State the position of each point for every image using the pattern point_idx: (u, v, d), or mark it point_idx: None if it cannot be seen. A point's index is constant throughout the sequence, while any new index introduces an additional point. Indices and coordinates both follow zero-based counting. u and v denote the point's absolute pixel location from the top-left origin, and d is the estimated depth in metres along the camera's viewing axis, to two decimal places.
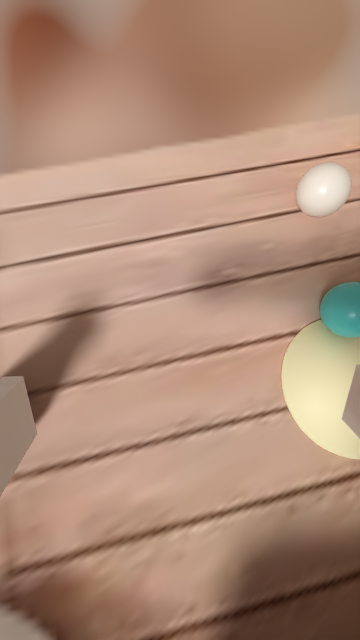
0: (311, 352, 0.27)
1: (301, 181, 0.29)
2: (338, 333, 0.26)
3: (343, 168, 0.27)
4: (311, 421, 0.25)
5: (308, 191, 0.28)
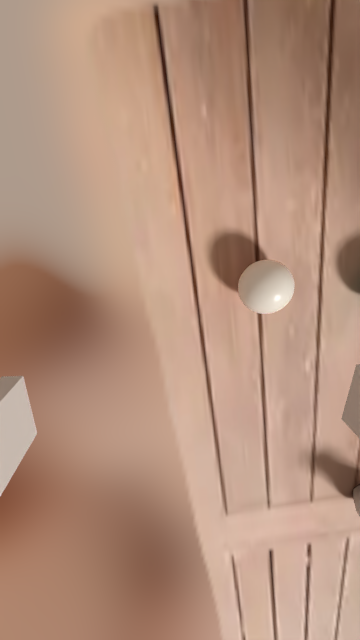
0: None
1: None
2: None
3: (270, 283, 0.24)
4: None
5: None
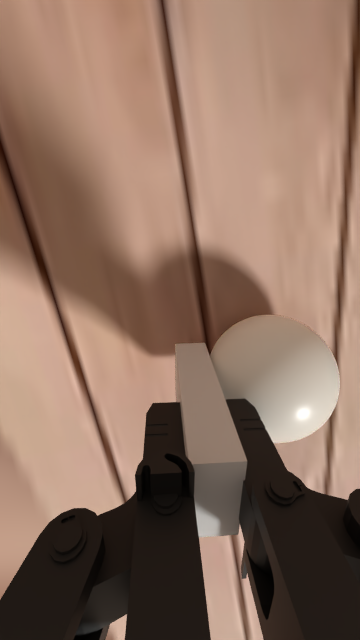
0: None
1: None
2: None
3: (317, 392, 0.09)
4: None
5: None
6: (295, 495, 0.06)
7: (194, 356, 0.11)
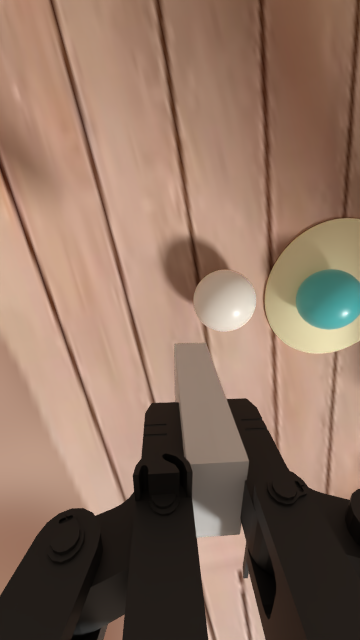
0: (296, 323, 0.27)
1: None
2: None
3: None
4: (353, 333, 0.28)
5: None
6: (298, 495, 0.06)
7: (195, 356, 0.11)
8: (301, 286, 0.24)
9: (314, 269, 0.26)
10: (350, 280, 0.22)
